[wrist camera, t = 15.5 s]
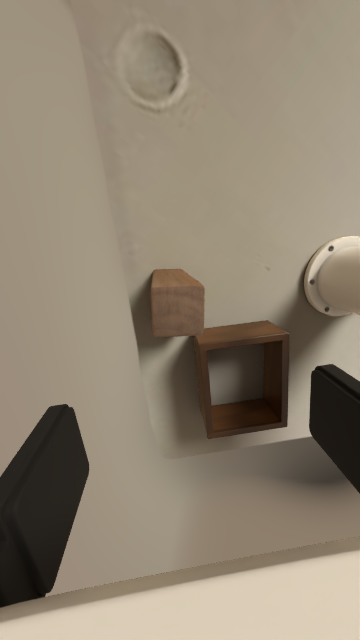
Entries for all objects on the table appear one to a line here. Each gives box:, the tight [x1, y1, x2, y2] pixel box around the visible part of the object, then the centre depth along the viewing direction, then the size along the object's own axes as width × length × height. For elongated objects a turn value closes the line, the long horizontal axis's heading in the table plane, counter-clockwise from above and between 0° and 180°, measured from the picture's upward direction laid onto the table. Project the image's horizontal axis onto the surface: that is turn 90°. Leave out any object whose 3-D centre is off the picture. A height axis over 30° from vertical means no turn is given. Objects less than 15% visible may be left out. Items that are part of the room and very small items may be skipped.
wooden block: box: [150, 269, 205, 337], centre depth 30 cm, size 9×4×18 cm, turn 1°
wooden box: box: [194, 320, 289, 439], centre depth 39 cm, size 13×16×7 cm
